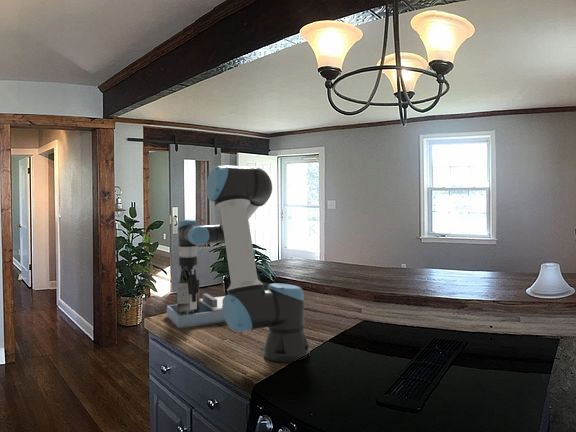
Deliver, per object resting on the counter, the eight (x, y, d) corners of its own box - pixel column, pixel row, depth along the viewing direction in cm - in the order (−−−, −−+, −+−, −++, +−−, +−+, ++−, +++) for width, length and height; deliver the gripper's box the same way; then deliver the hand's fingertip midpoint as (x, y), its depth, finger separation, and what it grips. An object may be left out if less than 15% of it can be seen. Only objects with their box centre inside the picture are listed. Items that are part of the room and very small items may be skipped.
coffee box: (191, 321, 180) (190, 283, 180) (177, 320, 182) (176, 282, 181) (200, 315, 189) (199, 279, 189) (186, 315, 191) (185, 278, 190)
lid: (258, 304, 190) (257, 296, 189) (214, 310, 180) (213, 301, 180) (240, 295, 207) (240, 288, 207) (199, 300, 198) (199, 292, 197)
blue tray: (226, 321, 183) (226, 309, 183) (178, 328, 173) (178, 316, 173) (210, 311, 200) (210, 300, 200) (166, 316, 191) (166, 305, 191)
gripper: (171, 253, 193) (172, 300, 194) (187, 260, 171) (188, 313, 172) (188, 252, 197) (189, 298, 198) (205, 259, 175) (206, 311, 176)
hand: (188, 305), depth 185 cm, fingers open, 13 cm apart
